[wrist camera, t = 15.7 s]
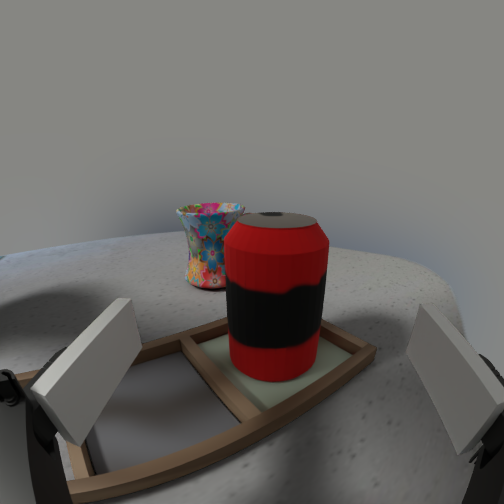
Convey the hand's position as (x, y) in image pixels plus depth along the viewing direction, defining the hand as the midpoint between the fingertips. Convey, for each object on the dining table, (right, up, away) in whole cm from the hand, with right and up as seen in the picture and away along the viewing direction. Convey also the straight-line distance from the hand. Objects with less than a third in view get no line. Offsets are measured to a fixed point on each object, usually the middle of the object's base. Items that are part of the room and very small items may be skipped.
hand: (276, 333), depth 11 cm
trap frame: (-9, -8, +6) cm, 13 cm away
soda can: (+1, -6, +12) cm, 13 cm away
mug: (-5, -1, +30) cm, 30 cm away
